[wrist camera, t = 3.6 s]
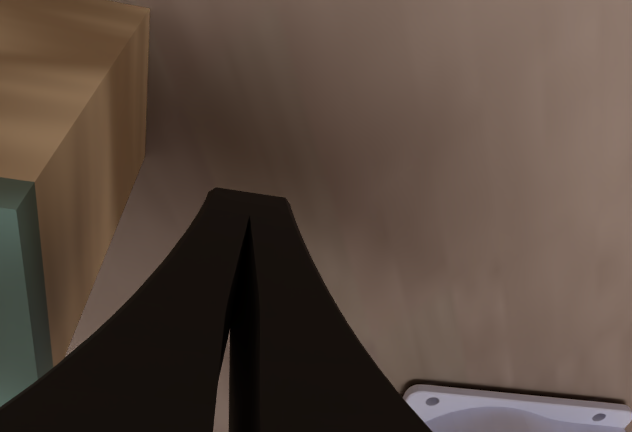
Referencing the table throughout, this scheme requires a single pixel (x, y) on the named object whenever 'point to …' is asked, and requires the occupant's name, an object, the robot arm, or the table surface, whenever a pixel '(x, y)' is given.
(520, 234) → the table surface
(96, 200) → the block
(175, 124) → the table surface
